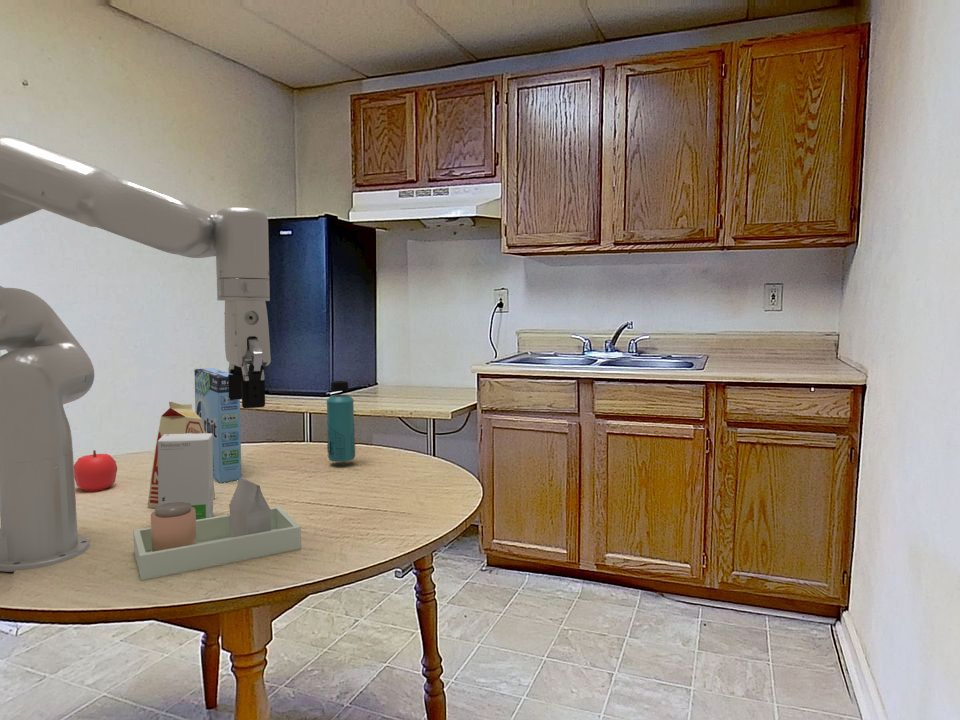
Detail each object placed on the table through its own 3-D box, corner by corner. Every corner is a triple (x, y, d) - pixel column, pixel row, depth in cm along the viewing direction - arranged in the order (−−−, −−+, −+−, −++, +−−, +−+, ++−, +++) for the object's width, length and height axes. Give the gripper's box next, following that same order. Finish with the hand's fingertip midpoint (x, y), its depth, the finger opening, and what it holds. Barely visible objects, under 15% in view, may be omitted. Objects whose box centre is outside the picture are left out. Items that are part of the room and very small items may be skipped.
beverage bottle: (361, 463, 156) (360, 380, 154) (341, 469, 151) (340, 383, 149) (341, 460, 160) (339, 378, 158) (321, 465, 154) (319, 381, 152)
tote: (141, 584, 90) (139, 556, 89) (134, 555, 100) (133, 530, 99) (301, 552, 101) (300, 527, 101) (280, 529, 111) (279, 506, 111)
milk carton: (189, 511, 121) (185, 404, 119) (145, 508, 123) (140, 402, 121) (218, 497, 130) (215, 397, 128) (177, 494, 132) (173, 395, 130)
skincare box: (158, 533, 109) (153, 441, 108) (165, 520, 116) (161, 433, 114) (211, 528, 112) (208, 438, 110) (216, 516, 118) (212, 431, 117)
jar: (154, 569, 93) (152, 516, 92) (150, 555, 98) (148, 504, 97) (200, 560, 96) (198, 508, 96) (194, 547, 101) (191, 498, 101)
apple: (64, 491, 133) (62, 453, 133) (98, 481, 141) (96, 445, 140) (93, 495, 131) (91, 456, 130) (127, 485, 138) (125, 447, 138)
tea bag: (248, 552, 99) (246, 488, 98) (230, 540, 104) (228, 479, 103) (271, 546, 102) (269, 483, 101) (253, 535, 107) (251, 475, 106)
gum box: (196, 465, 155) (192, 369, 153) (219, 462, 158) (215, 367, 156) (219, 483, 139) (215, 376, 137) (243, 479, 142) (240, 375, 140)
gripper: (283, 291, 94) (286, 409, 96) (255, 292, 109) (258, 394, 110) (228, 290, 90) (232, 413, 92) (207, 291, 105) (210, 397, 106)
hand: (246, 402), depth 101 cm, fingers open, 9 cm apart
